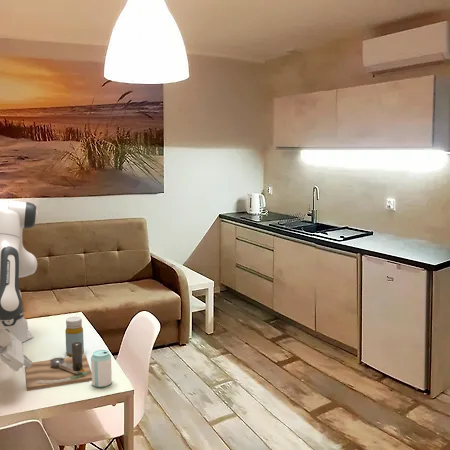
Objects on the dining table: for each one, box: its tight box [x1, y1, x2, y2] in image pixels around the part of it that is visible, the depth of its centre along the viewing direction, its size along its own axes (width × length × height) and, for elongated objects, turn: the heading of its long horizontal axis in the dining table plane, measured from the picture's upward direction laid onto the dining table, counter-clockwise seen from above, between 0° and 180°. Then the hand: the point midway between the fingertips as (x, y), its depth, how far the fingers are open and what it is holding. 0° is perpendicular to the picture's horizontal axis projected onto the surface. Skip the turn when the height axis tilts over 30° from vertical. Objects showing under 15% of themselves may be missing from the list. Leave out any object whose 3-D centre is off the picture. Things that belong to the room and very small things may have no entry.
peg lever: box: [50, 342, 86, 374], centre depth 197 cm, size 18×5×12 cm, turn 55°
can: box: [90, 349, 113, 388], centre depth 189 cm, size 7×7×12 cm
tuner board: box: [25, 354, 92, 392], centre depth 198 cm, size 22×23×1 cm
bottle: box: [65, 316, 85, 357], centre depth 215 cm, size 7×7×15 cm
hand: (30, 364), depth 186 cm, fingers closed
